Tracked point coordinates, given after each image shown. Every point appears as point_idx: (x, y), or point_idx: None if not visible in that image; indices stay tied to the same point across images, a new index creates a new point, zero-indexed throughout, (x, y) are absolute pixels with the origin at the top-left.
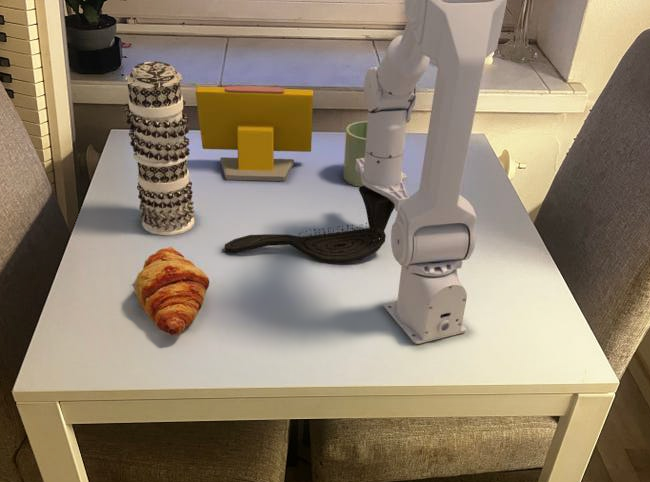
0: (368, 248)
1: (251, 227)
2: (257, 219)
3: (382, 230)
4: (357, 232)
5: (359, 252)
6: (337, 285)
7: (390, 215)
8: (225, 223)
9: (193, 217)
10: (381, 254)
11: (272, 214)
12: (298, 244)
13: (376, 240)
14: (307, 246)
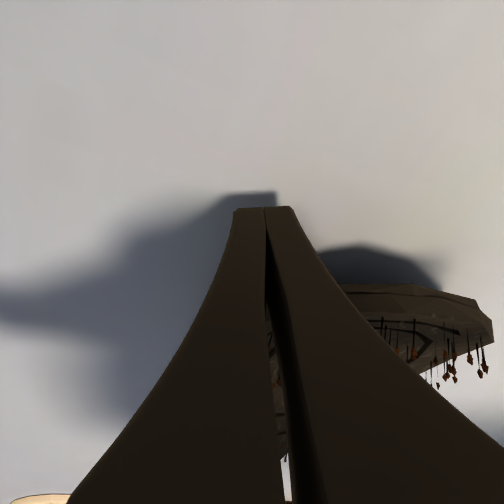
0: (447, 347)
1: (97, 451)
2: (48, 442)
3: (472, 362)
4: (270, 330)
5: (426, 357)
6: (482, 384)
7: (338, 287)
8: (72, 472)
9: (54, 502)
10: (429, 241)
11: (10, 422)
12: (279, 451)
13: (445, 334)
14: (284, 429)
